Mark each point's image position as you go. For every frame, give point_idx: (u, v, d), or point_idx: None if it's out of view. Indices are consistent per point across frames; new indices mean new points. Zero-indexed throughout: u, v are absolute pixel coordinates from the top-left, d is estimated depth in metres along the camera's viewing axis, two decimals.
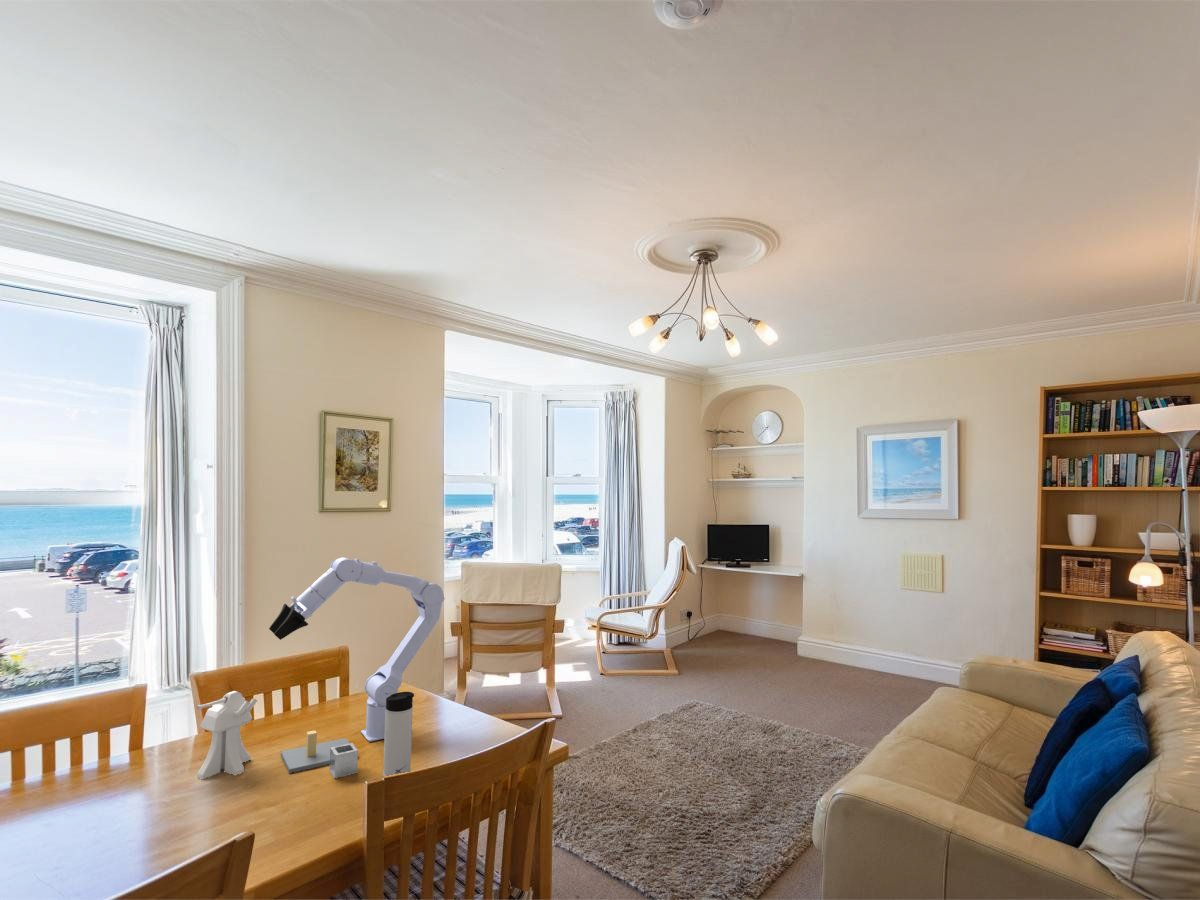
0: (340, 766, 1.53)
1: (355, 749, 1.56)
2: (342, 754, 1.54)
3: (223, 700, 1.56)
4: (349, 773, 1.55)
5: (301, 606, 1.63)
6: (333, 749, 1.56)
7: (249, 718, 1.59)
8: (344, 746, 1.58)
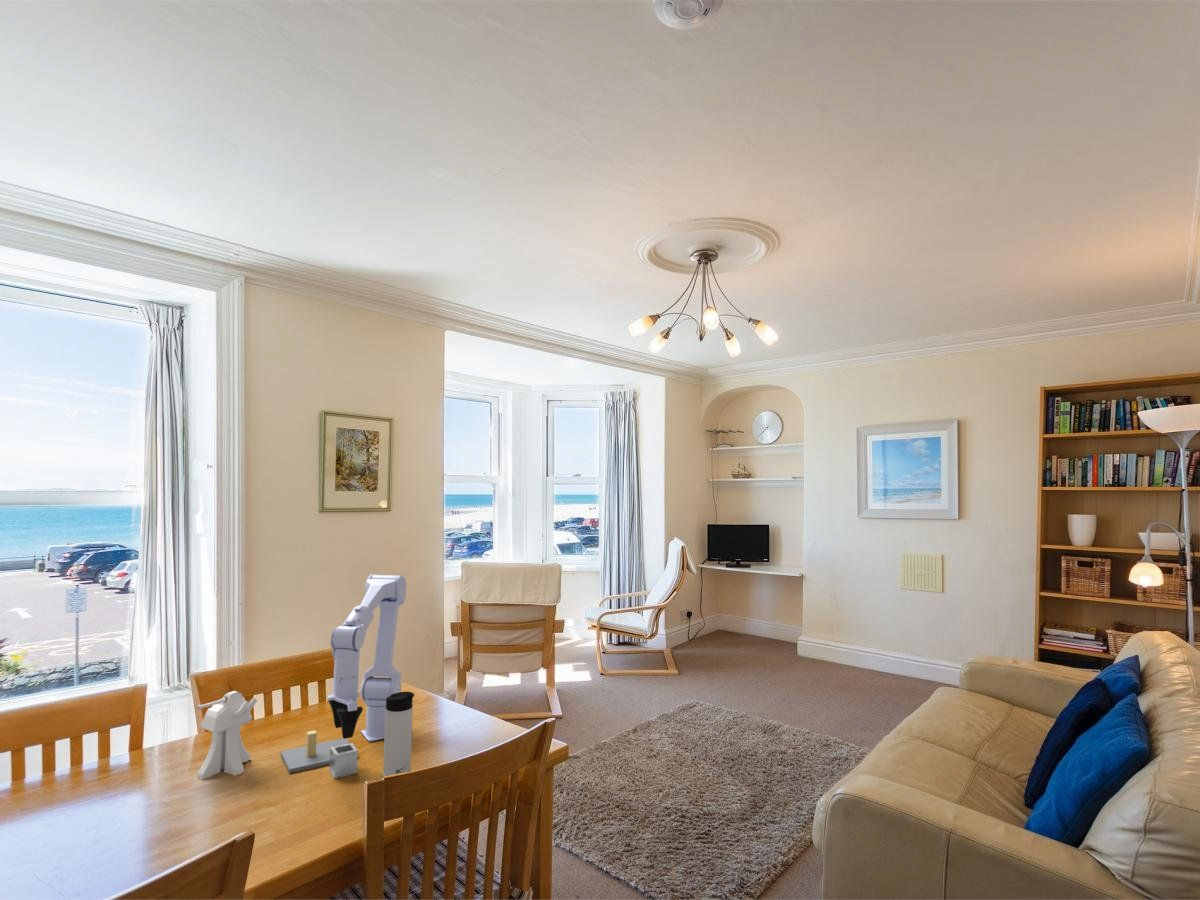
0: (340, 766, 1.53)
1: (355, 749, 1.56)
2: (342, 754, 1.54)
3: (223, 700, 1.56)
4: (349, 773, 1.55)
5: (342, 702, 1.52)
6: (333, 749, 1.56)
7: (249, 718, 1.59)
8: (344, 746, 1.58)
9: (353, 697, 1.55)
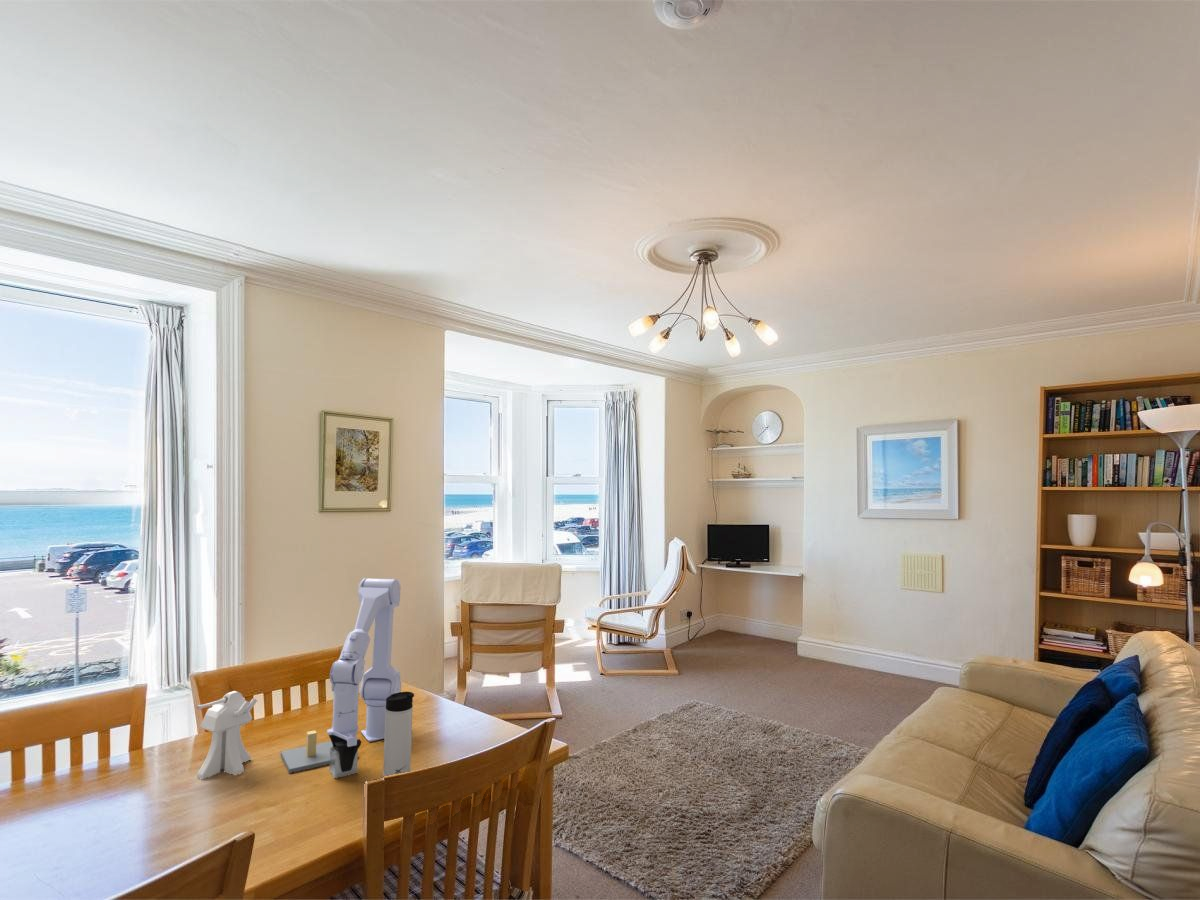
0: (340, 766, 1.53)
1: None
2: None
3: (223, 700, 1.56)
4: (349, 773, 1.55)
5: (342, 737, 1.52)
6: (333, 749, 1.56)
7: (249, 718, 1.59)
8: None
9: (352, 731, 1.55)
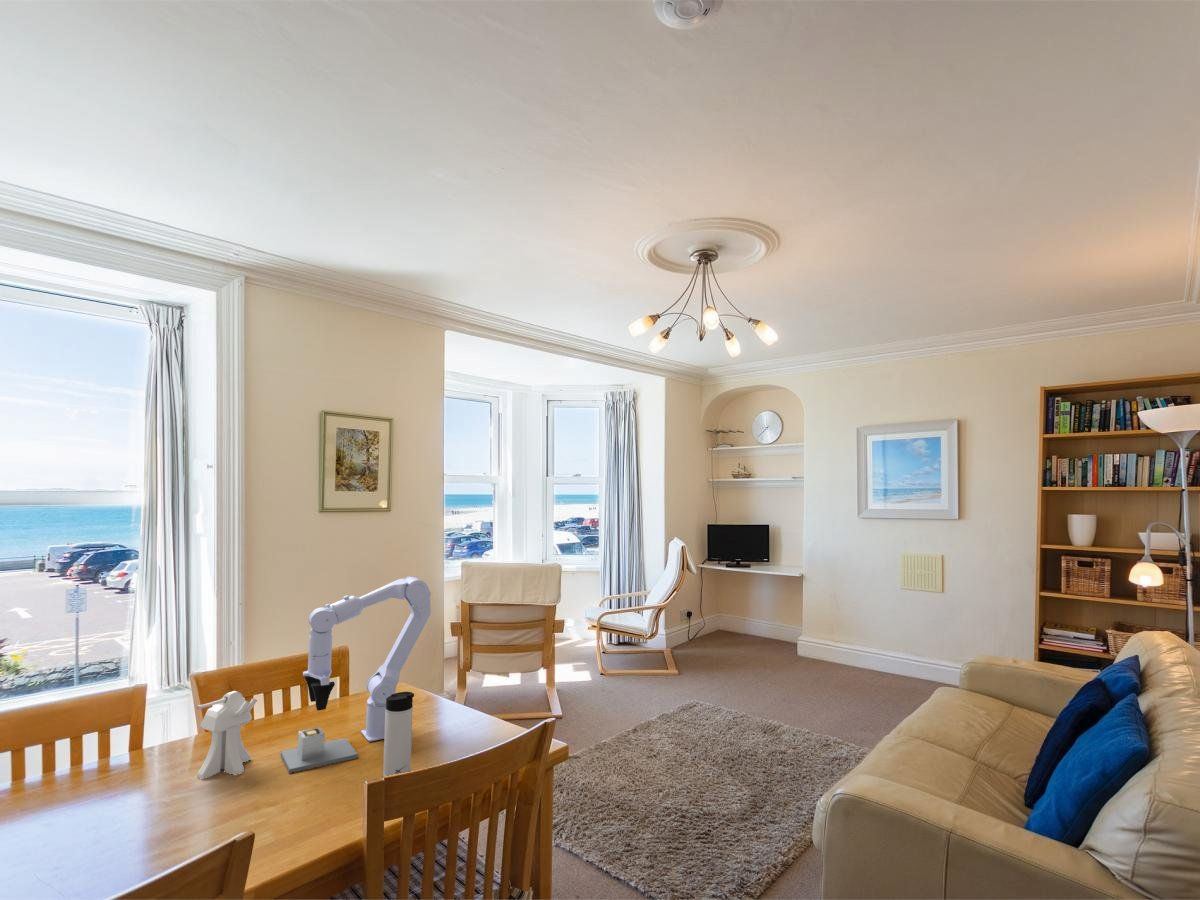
0: (307, 748, 1.60)
1: (322, 732, 1.63)
2: (309, 737, 1.61)
3: (223, 700, 1.56)
4: (316, 755, 1.62)
5: (316, 677, 1.68)
6: (301, 732, 1.63)
7: (249, 718, 1.59)
8: (312, 730, 1.65)
9: (326, 673, 1.70)
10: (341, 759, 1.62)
